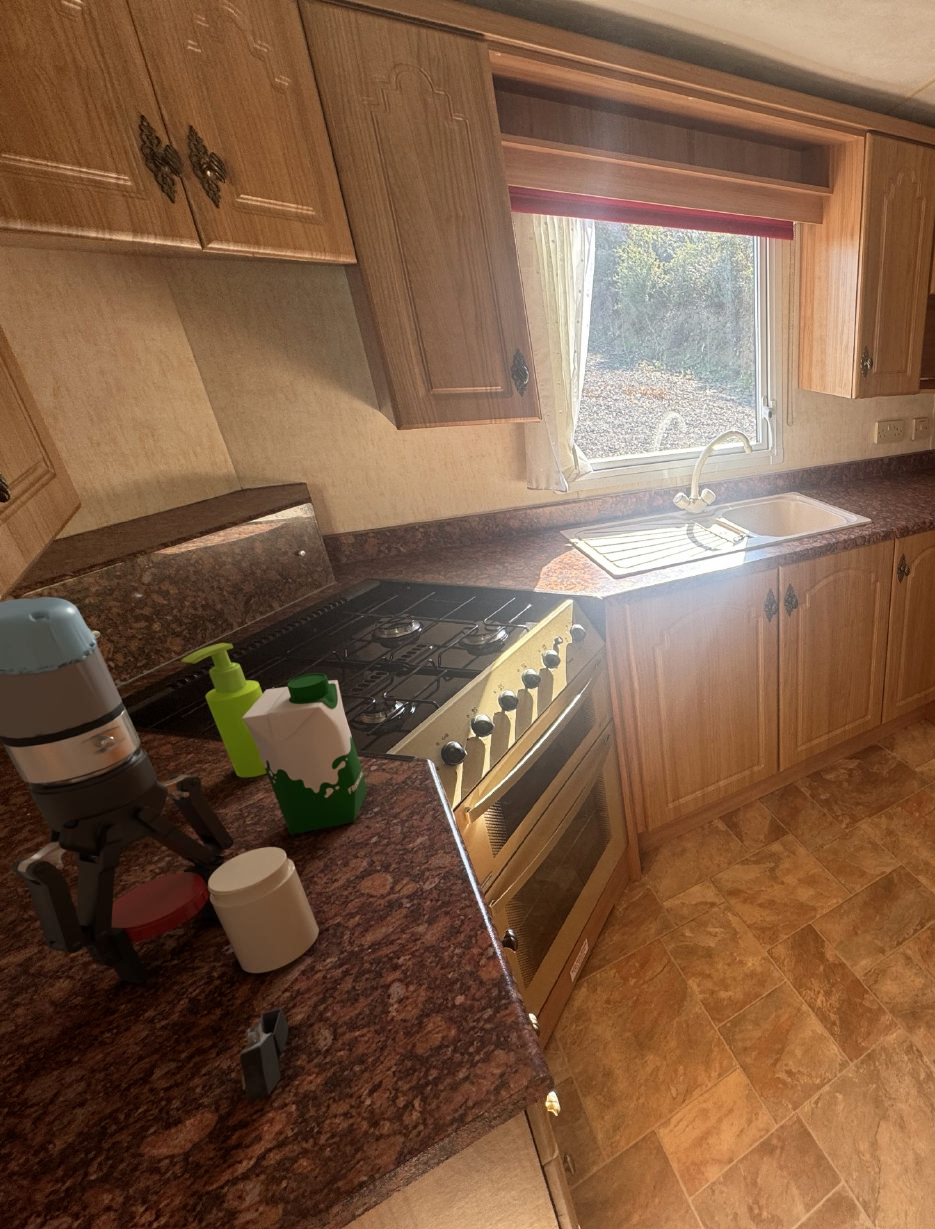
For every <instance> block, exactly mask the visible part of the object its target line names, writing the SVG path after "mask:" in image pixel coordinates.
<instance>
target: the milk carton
mask: <svg viewBox="0 0 935 1229" xmlns="http://www.w3.org/2000/svg"><path fill="white" fill-rule="evenodd" d="M242 719H243V721H244V722H245V724H246V726H247V728H248V729H249V731H250V733H251V735H252V737H253V739H254V741H255V744H256V746H257V749H258V751H259V754H260V757H261V759H262V762H263V765H264V767H265V770H266V775H267V777H268V780H269V783H270V786H271V789H272V791H273V793H274V796H275V799H276V802H277V804H278V807H279V809H280V811H281V814H282V816H283V819H284V821H285V824H286V826H287V828H288V831H289V834H290V835H296V834H301V833H306V832H310V831H317V830H321V829H327V828H332V827H336V826H342V825H346V824H353V823H355V821H356V819H357V817H358V814H359V812H360V810H361V807H362V805H363V803H364V801H365V798H366V796H367V793H368V791H369V790H368V787H367V784H366V780H365V775H364V772H363V769H362V765H361V762H360V759H359V755H358V753H357V748H356V746H355V743H354V740H353V736H352V733H351V730H350V726H349V723H348V719H347V717H346V713H345V708H344V704H343V700H342V694H341V690H340V686H339V681H338V680H337V679H334V680H333V679H332V680H328V677H327V675H326V674H324V673H321V672H313V673H307V674H303V675H300V676H297V677H295V678H292V679H291V680H289V681H288V683H287V684H286V686H283V687H282V686H281V687H276V688H275V687H274V688H268V689H267V688H266V689H265V691H264V692H262V695H261V696H260V698H259V699H258V700H257V701H256V702H255V703H254V705H253V706H252V707H251V708H250V709H249V710H248V712H247V713H246V714H245V715H244V716H243V717H242Z"/></svg>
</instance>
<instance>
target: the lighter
mask: <svg viewBox="0 0 935 1229" xmlns="http://www.w3.org/2000/svg"><path fill="white" fill-rule="evenodd" d="M288 1033H289V1024H288V1021H287V1019H286V1016H285V1013H284V1010H283V1008H282V1007H279V1008H276V1009H271V1010H267V1011H264V1012H262V1013H261V1015H260V1018H259V1021H258V1024H256V1025H253V1026H251V1027H249V1028H248V1029H247V1030H246V1037H247V1045H246V1046H245V1047H244V1049H242V1050H241V1052H240V1056H239V1059H240V1065H241V1069H242V1070H241V1071H242V1077H241V1085H242V1090H245V1093H246V1099H247V1104H248V1105H250V1104H252V1103H254V1102H256V1101H259V1100H261V1099H263V1098H266V1097H268V1096H269V1095H270V1094H271V1092H272V1091H273V1090H274V1088H275V1087H276V1086H277V1084H278V1083H279V1081H280V1080H281V1079H282V1076H281V1071H280V1065H279V1060H278V1057H280V1056H281V1055H282V1054H283V1052H284V1050H285V1048H286V1045H287V1040H288Z"/></svg>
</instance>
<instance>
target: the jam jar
mask: <svg viewBox="0 0 935 1229" xmlns="http://www.w3.org/2000/svg"><path fill="white" fill-rule="evenodd" d="M301 881H302V880H301V879H300V876H299V873H298V871H297V867H296V866H295V863H294V861H293V860H292V859H290V858H289V857H288V856H287V853H286V851H285V850H284V849H283V848H280V847H276V846H266V847H260V848H255V849H251V850H249V851H246V852H243V853H240V854H239V855H236V856H235V857H233V858H231V859H229V860H227V861H225V862H223V864H222V865H221V866H220V867H219V868H218V869H217V870H216V871H215V872H214V873H213V874H212V875H211V877H210V878H209V881H208V890H209V892H210V893H211V894H210V901H211V903H212V905H213V908H214V910H215V912H216V914H217V916H218V918H219V919H218V918H217V919H218V921H219V923H220V925H221V927H222V929H223V931H224V934H225V936H226V938H227V940H228V942H229V945H230V946H231V949H232V951H233V954H234V956H235V957H236V958H235V959H237V960H236V961H237V962H238V964H239V966H240V968H241V969H242V970H243V971H245V972H247V973H251V974H261V973H262V974H263V973H268V972H271V971H274V970H277V969H280V968H283V967H284V966H287V965H289V964H290V963H292V962H294V961H296V959H299V957H301V956H302V955H304V954H305V953H306V952H307V951H308V950H309V949H310V948H311V947H312V946H313V944H314V943H315V942H316V940H317V938H318V936H319V931H320V929H319V926H318V923H317V921H316V918H315V915H314V913H313V910H312V907H311V905H310V902H309V900H308V896H307V894H306V892H305V889H304V887H303V883H302V882H301Z"/></svg>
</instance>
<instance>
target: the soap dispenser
mask: <svg viewBox="0 0 935 1229" xmlns="http://www.w3.org/2000/svg"><path fill="white" fill-rule="evenodd" d="M231 649H234V646H233V644H232V643H226V642H219V643H216V644H213V645H209V646H206V647H203V648H201V649H198V650H196V651H193V652H192V653H189V654H188V655H186V656H185V657H183V658H182V659H181V660H180V662H182V663H186V664H187V663H188V664H193V665H194V664H197V663H198V662H200V661H202V660H204V659H205V658H208V657H210V658H211V660H212V662H213V665H214V666H212V668H210V669H209V670H208V674H209V677H210V680H211V682H212V684H213V687H214V688H213V689H211V690H210V691H208V692H207V693H206V694H205V697H204V698H205V700H206V701H207V702H206V703H207V705H208V708H209V710H210V712H211V715H212V718H213V720H214V722H215V725H216V727H217V730H218V733H219V735H220V738H221V740H222V743H223V745H224V747H225V750H226V753H227V755H228V758H229V761H230V762H231V765H232V767H233V770H234V772H235V775H236V776H237V777H239V778H254V777H258V776H262V775H265V774H266V775H267V773H266V770H265V767H264V765H263V762H262V759H261V757H260V754H259V751H258V749H257V746H256V744H255V741H254V739H253V737H252V735H251V733H250V731H249V729H248V728H247V726H246V724H245V722H244V721H243V719H242V717H243V716H244V715H245V714H246V713H247V712H248V710H249V709H250V708H251V707H252V706H253V705H254V703H255V702H256V701H257V700H258V699H259V698H260V696H261V695H262V694H263V691H262V688H261V686H260V683H259V681H257V680H251V679H250V680H246V677H245V675H244V672H243V669H242V666H241V664H240V663H238V662H234V661H233V662H232V661H231V659H230V656H229V654H228V651H229V650H231Z"/></svg>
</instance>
